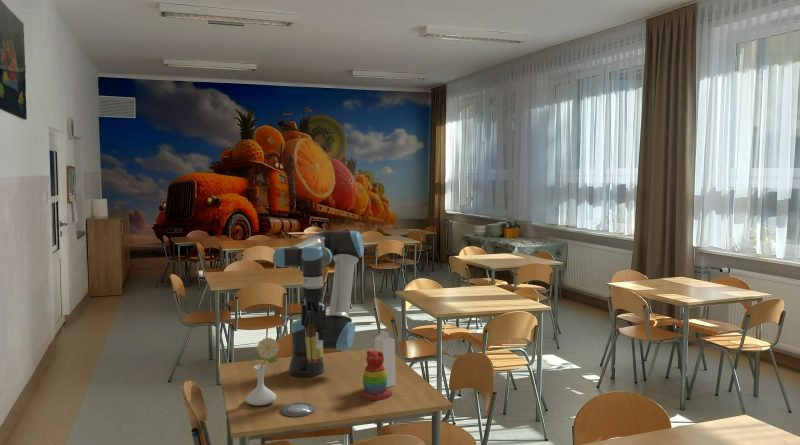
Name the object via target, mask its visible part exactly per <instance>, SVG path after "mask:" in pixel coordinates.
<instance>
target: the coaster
mask: <svg viewBox="0 0 800 445" xmlns="http://www.w3.org/2000/svg"><path fill="white" fill-rule="evenodd" d="M315 411H316V407H315V405H314V404H312V403H309V402H293V403H289V404H285V405H284V406H283V407H281V414H282V413H283V414H284V415H283V414H282V415H283V416H285V415H287V416H286V417H289V416H291V417H292V418H300V417H306V416H309V415H311V414H313V413H315ZM291 417H290V418H291Z"/></svg>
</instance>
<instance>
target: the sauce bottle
mask: <svg viewBox="0 0 800 445" xmlns="http://www.w3.org/2000/svg"><path fill="white" fill-rule="evenodd" d="M316 312H318V311H316ZM307 315H308V325H307V327H306V349H307V358H308V362H309V363H320V362H323V361H324V349H323V348H320V349H316V331H317V328H316V323H315V318H314V315H313V314H312V311H307Z"/></svg>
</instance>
